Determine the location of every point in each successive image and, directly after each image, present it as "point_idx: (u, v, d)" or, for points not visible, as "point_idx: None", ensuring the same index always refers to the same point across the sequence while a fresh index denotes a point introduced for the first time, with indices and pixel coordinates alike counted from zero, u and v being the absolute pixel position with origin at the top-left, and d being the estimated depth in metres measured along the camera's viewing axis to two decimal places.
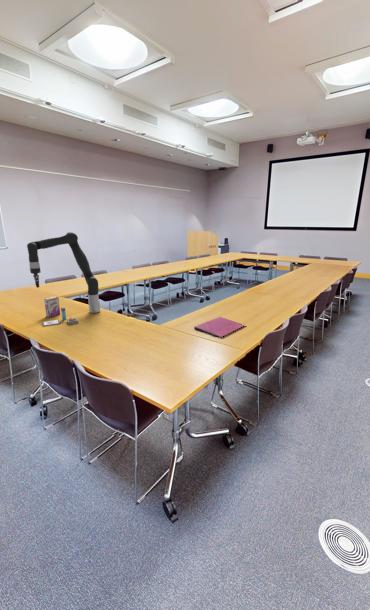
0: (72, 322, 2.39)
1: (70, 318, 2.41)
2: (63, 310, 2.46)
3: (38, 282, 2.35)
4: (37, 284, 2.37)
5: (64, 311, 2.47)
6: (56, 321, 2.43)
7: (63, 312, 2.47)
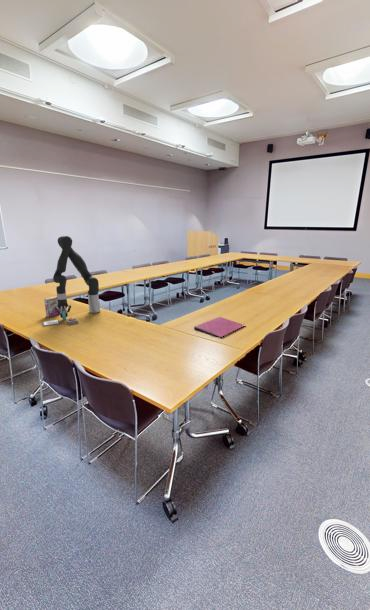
0: (72, 322, 2.39)
1: (70, 318, 2.41)
2: (63, 310, 2.46)
3: None
4: None
5: (64, 311, 2.47)
6: (56, 321, 2.43)
7: (63, 312, 2.47)
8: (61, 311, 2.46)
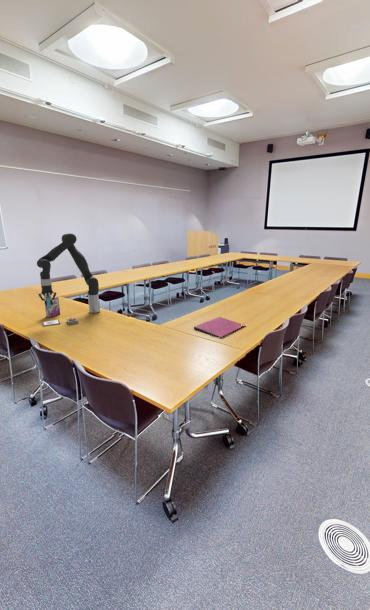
0: (72, 322, 2.39)
1: (70, 318, 2.41)
2: (47, 297, 2.33)
3: None
4: None
5: (49, 298, 2.34)
6: (56, 321, 2.43)
7: (48, 299, 2.33)
8: (45, 298, 2.33)
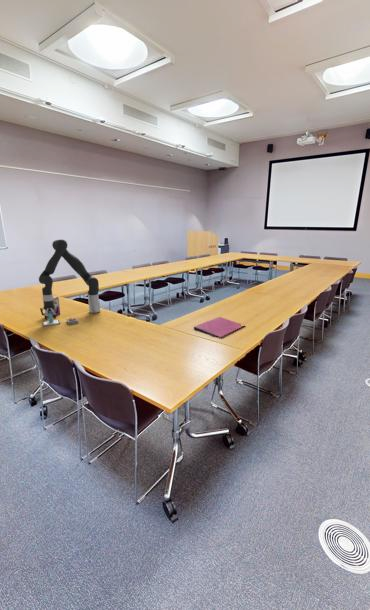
0: (72, 322, 2.39)
1: (70, 318, 2.41)
2: (50, 312, 2.37)
3: (57, 312, 2.42)
4: (55, 315, 2.41)
5: (51, 313, 2.37)
6: (56, 321, 2.43)
7: (50, 315, 2.37)
8: (46, 313, 2.36)
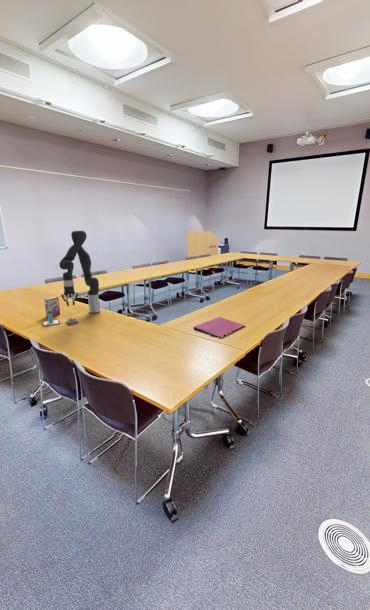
0: (72, 322, 2.39)
1: (70, 318, 2.41)
2: (50, 312, 2.36)
3: None
4: None
5: (51, 314, 2.37)
6: (56, 321, 2.43)
7: (50, 315, 2.37)
8: (67, 299, 2.35)
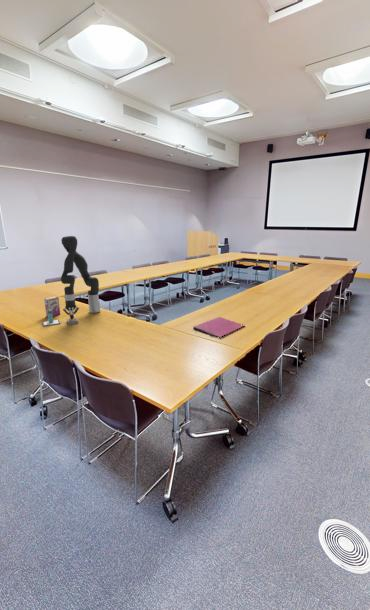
0: (72, 322, 2.39)
1: (70, 319, 2.41)
2: (50, 312, 2.36)
3: None
4: None
5: (51, 313, 2.37)
6: (56, 321, 2.43)
7: (50, 315, 2.37)
8: (70, 312, 2.39)
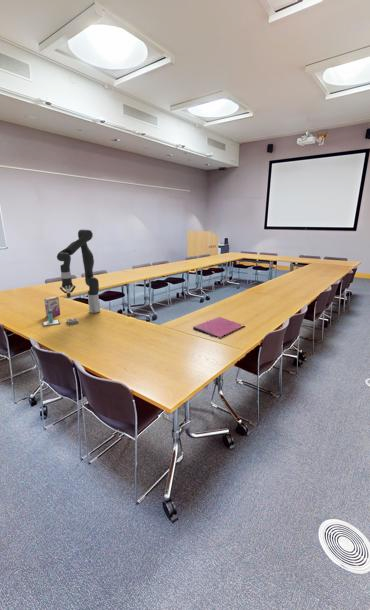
0: (72, 322, 2.39)
1: (70, 319, 2.41)
2: (50, 312, 2.36)
3: (71, 291, 2.41)
4: None
5: (51, 313, 2.37)
6: (56, 321, 2.43)
7: (50, 315, 2.37)
8: (67, 291, 2.38)
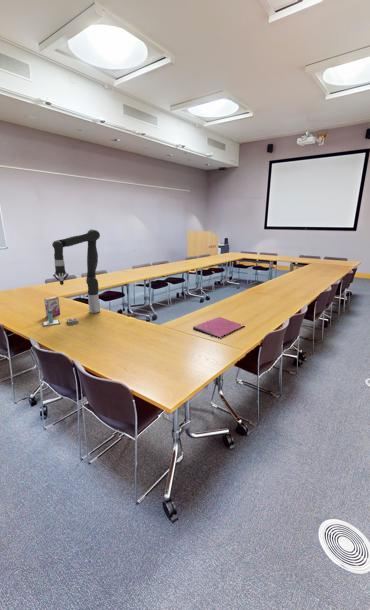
0: (72, 322, 2.39)
1: (70, 319, 2.41)
2: (50, 312, 2.36)
3: (64, 279, 2.50)
4: None
5: (51, 313, 2.37)
6: (56, 321, 2.43)
7: (50, 315, 2.37)
8: (60, 278, 2.46)
